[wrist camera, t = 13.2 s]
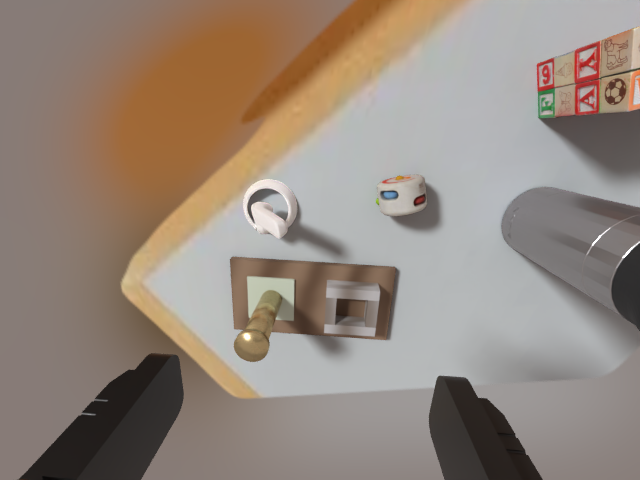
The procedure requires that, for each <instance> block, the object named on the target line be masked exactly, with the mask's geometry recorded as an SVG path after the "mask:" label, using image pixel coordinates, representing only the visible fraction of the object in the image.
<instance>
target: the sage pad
mask: <svg viewBox="0 0 640 480" xmlns="http://www.w3.org/2000/svg"><path fill="white" fill-rule="evenodd" d="M294 284H295V279H287V278H271V277H256V276H247V289H248V314H249V318H251V316H252V314H253V312H254V310H255V308H256V306H257V304H258V302H259V300H260V298H261V296H262V294H263V293H264V292H265V291H267V290H274V291H276V292H278V293H279V294H280V295H281V297H282V303H281V306H280V309H279V312H278V315H277V317H276V320H288V321H294Z"/></svg>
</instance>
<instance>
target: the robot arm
mask: <svg viewBox="0 0 640 480" xmlns="http://www.w3.org/2000/svg"><path fill="white" fill-rule="evenodd" d="M502 234H503V237H504V239H505V241H506V242H507V244H508V245H510V246H511V247H512V248H513V249H515V250H516V251H518V252H520V253H521V254H523V255H524V256H526V257H528V258H529V259H530V260H532V261H534V262H535V263H537V264H538V265H540V266H542V267H543V268H545V269H546V270H548V271H550V272H551V273H553V274H554V275H556V276H558V277H559V278H561V279H562V280H564V281H566V282H567V283H569V284H570V285H572V286H574V287H575V288H577V289H578V290H580V291H582V292H583V293H585V294H586V295H588V296H590V297H591V298H593V299H594V300H596V301H598V302H599V303H601V304H603V305H604V306H606V307H608V308H609V309H611V310H612V311H614V312H616V313H617V314H619V315H620V316H622V317H624V318H625V319H627V320H628V321H630V322H631V323H633V324H635V325H636V326H637V328H638V329H639V331H640V208H639V207H635V206H631V205H626V204H622V203H617V202H613V201H609V200H604V199H600V198H596V197H591V196H587V195H582V194H578V193H574V192H570V191H565V190H561V189H557V188H552V187H540V188H535V189H532V190H529V191H527V192H525V193H523V194H521V195H520V196H518V197H517V198H516V199H515V200H514V201H513V202H512V203H511V204H510V205H509V207H508V208H507V210H506V212H505V214H504V217H503V219H502ZM183 395H184V393H183V384H182V377H181V369H180V362H179V358H178V356H177V355H172V354H158V353H151V354H149V355H148V356H147V357H146V358H145V359H144V360H143V361H142V362H141V363H140V364H139V366H138V367H137V368H136V369H135V370H128V371H126V372H125V373H123V374H122V375H120V376H119V377H117V378H116V379H114V380H113V381H111V382H110V383H109V384H108V385H107V386H106V387H105V388H104V389H103V390H102V391H101V392H100V394H99V395H98V396H97V397H96V398H95V401H94V402H91V403H90V404H89V405H88V406H87V408H85V410H84V411H83V412H82V415H81V416H78V417H77V418H76V419H75V420H74V421H73V423H71V425H70V426H69V427H68V428H67V429H66V430H65V431H64V432H63V433H62V434H61V435H60V436H59V437H58V438H57V440H56V441H55V442H54V443H53V444H52V445H51V446H50V447H49V448H48V449H47V450H46V451H45V453H44V454H43V455H42V456H41V457H40V458H39V459H38V460H37V461H36V462H35V463H34V464H33V465H32V466H31V467H30V468H29V470H28V471H27V472H26V473H25V474H24V475H23V476H22V477H21V478H20V479H19V480H141V479H142V477H143V475H144V473H145V472H146V470H147V468H148V466H149V465H150V463H151V461H152V459H153V458H154V456H155V454H156V453H157V451H158V449H159V447H160V446H161V444H162V442H163V440H164V439H165V437H166V435H167V433H168V431H169V430H170V428H171V427H172V425H173V423H174V421H175V420H176V418H177V416H178V414H179V412H180V409H181V406H182V403H183ZM429 427H430V433H431V438H432V440H433V444H434V447H435V450H436V454H437V457H438V460H439V462H440V466H441V469H442V473H443V476H444V479H445V480H542V478H541V476H540V474H539V473H538V471H537V470H536V468H535V466H534V465H533V463H532V461H531V460H530V458H529V456H528V455H526V453H525V449H524V448H523V447H522V445H521V443H520V441H519V440H518V438H516V437H515V433H514V431H513V430H512V428H511V426H510V425H509V423H508V421H507V420H506V418H505V416H504V415H503V414H502V413H501V412H500V411H499V410H498V409H497V408H496V407H495V406H494V405H493V404H492V403H491V402H490V401H489V400H488V399H485V398H478V397H477V395H476V393H475V391H474V390H473V388H472V386H471V384H470V382H469V381H468V379H466V378H464V377H451V376H438V378H437V381H436V385H435V390H434V394H433V399H432V404H431V408H430V413H429Z"/></svg>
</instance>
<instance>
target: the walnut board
mask: <svg viewBox="0 0 640 480" xmlns="http://www.w3.org/2000/svg"><path fill="white" fill-rule="evenodd" d="M230 267H231V284H232V301H233V317H234V329H240V330H244V329H245V328H246V326H247V324H248V322H249V320H250V318H249V314H248V289H247V276H256V277H271V278H287V279H295V284H294V321H288V320H275V323H274V326H273V328H272V331H271V332H282V333H296V334H309V335H323V336H337V337H351V338H365V339H379V340H386V338H387V330H388V323H389V316H390V309H391V301H392V294H393V287H394V280H395V273H396V269H395V267H389V266H373V265H357V264H341V263H325V262H308V261H292V260H276V259H260V258H244V257H232V258H231V259H230Z"/></svg>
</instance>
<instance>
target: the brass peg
mask: <svg viewBox="0 0 640 480" xmlns="http://www.w3.org/2000/svg"><path fill="white" fill-rule="evenodd" d="M281 303H282V297H281V295H280V294H279V293H278V292H276V291H274V290H267V291H265V292H264V293H263V294H262V296H261V298H260V300H259V302H258V304H257V306H256V308H255V310H254V312H253V314H252V316H251V318H250V320H249V322H248V324H247V326H246V328H245V329H244V330H243V331H241V332H240V333H239V334H238V336H237V338H236V340H235V342H234V349H235V352H236V353H237V355H238V356H239V357H240V358H242V359H244V360H246V361H250V362H256V361H260V360H262V359H263V358H264V357H265V356H266V355H267V353H268V350H269V346H270V343H269V337H270V334H271V331H272V328H273V326H274V323H275V320H276V317H277V315H278V312H279V309H280V306H281Z"/></svg>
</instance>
